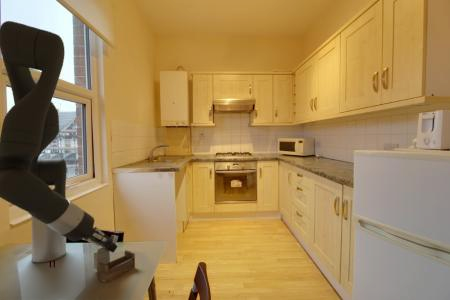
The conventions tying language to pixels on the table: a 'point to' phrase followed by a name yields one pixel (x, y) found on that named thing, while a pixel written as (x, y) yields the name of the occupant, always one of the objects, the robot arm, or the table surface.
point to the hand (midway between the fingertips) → (112, 248)
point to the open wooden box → (116, 267)
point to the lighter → (103, 254)
